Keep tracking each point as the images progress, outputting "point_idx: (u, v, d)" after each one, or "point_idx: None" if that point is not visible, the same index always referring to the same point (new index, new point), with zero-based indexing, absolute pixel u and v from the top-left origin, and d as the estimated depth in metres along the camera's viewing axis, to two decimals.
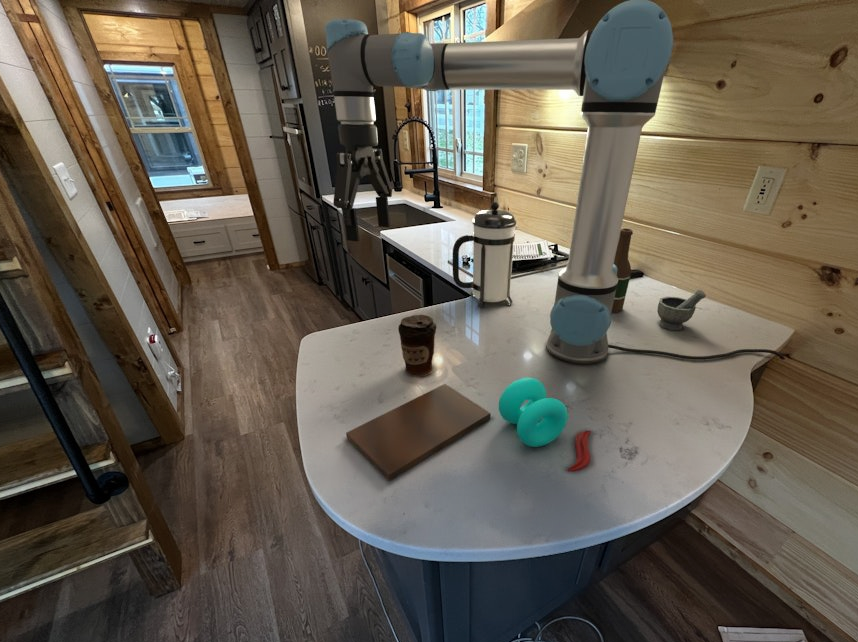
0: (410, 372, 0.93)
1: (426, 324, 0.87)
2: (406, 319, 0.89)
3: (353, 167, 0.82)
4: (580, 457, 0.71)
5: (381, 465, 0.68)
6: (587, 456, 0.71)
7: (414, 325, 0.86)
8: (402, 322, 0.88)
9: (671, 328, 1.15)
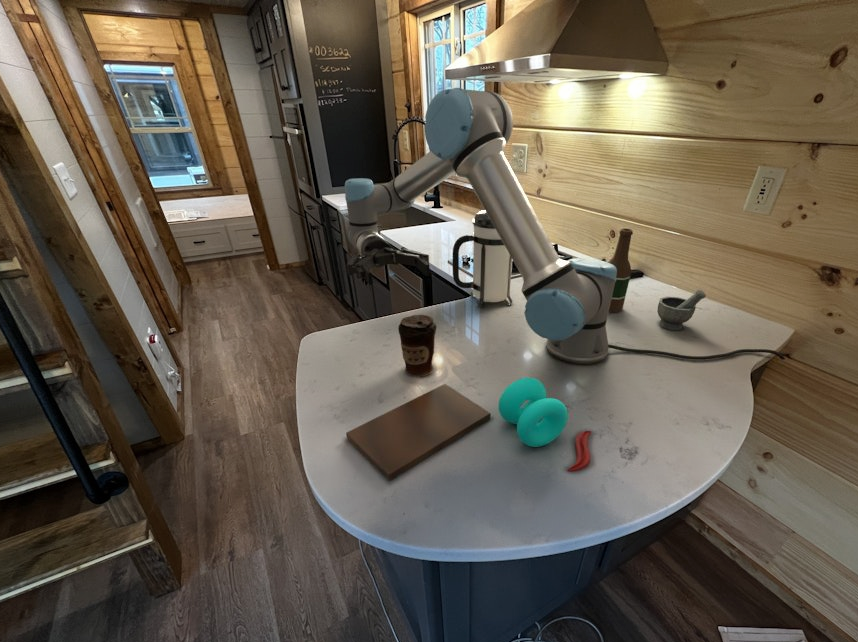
0: (410, 372, 0.93)
1: (426, 324, 0.87)
2: (406, 319, 0.89)
3: None
4: (580, 457, 0.71)
5: (381, 465, 0.68)
6: (587, 456, 0.71)
7: (414, 325, 0.86)
8: (402, 322, 0.88)
9: (671, 328, 1.15)
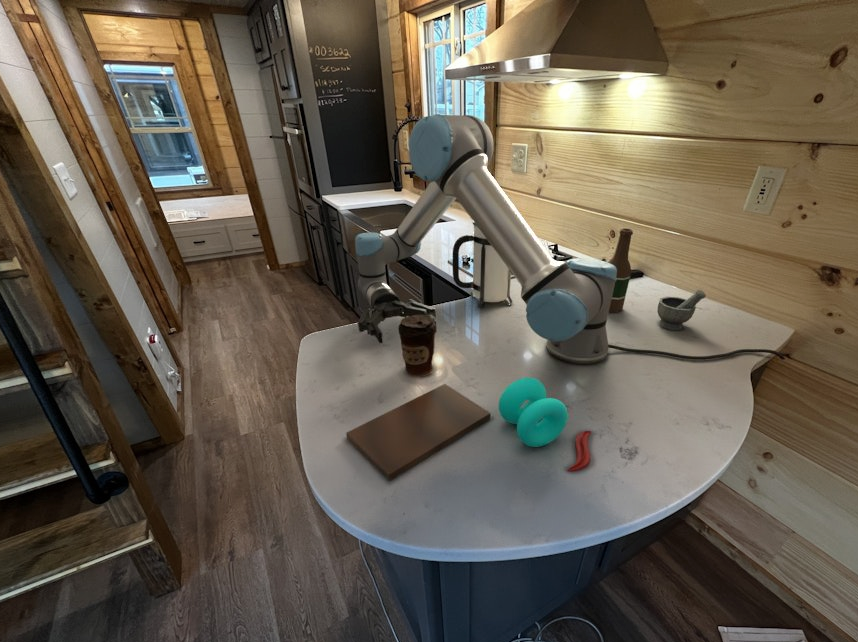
0: (410, 372, 0.93)
1: (426, 324, 0.87)
2: (406, 319, 0.89)
3: None
4: (580, 457, 0.71)
5: (381, 465, 0.68)
6: (587, 456, 0.71)
7: (414, 325, 0.86)
8: (402, 322, 0.88)
9: (671, 328, 1.15)
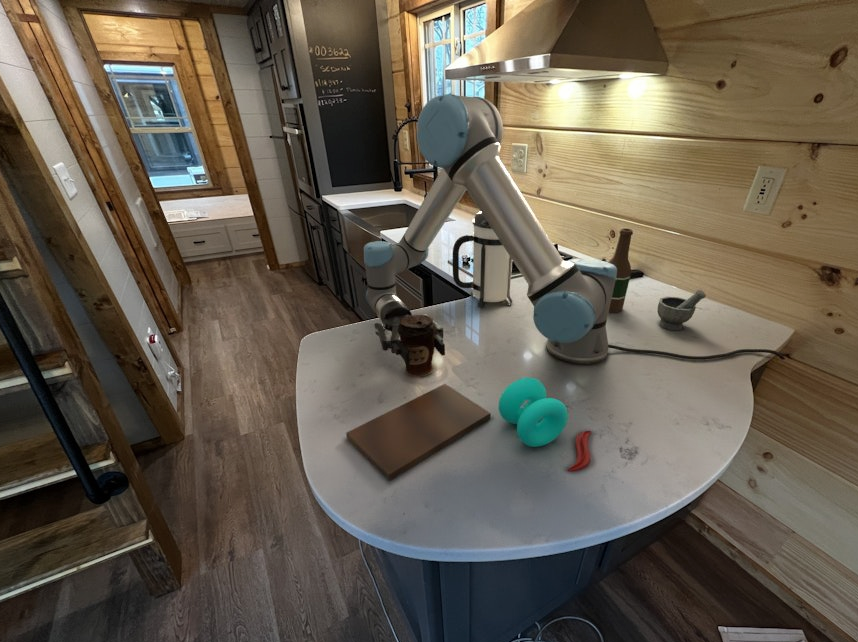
0: (410, 372, 0.93)
1: (426, 324, 0.87)
2: (406, 319, 0.89)
3: (391, 328, 0.98)
4: (580, 457, 0.71)
5: (381, 465, 0.68)
6: (587, 456, 0.71)
7: (413, 325, 0.86)
8: (402, 322, 0.88)
9: (671, 328, 1.15)
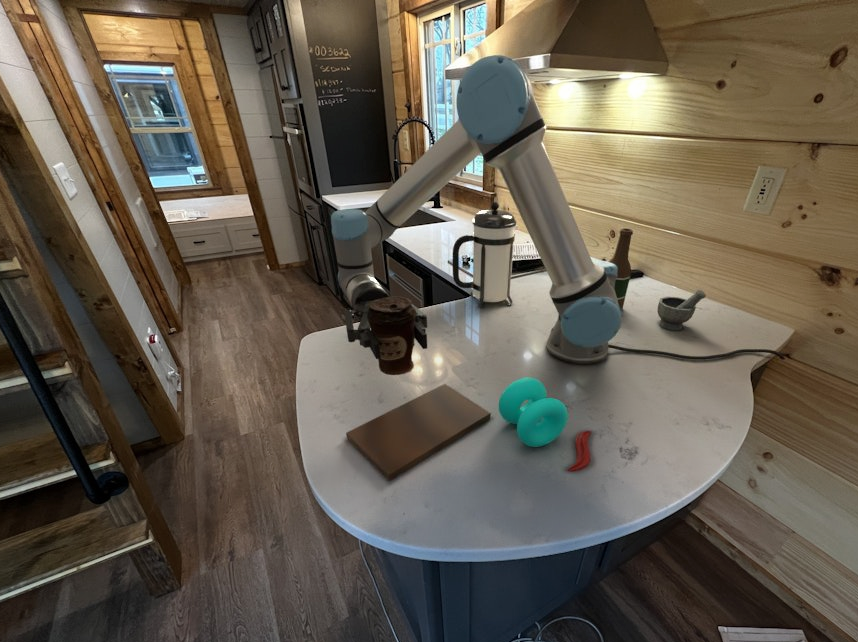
0: (384, 370, 0.73)
1: (402, 308, 0.67)
2: (377, 302, 0.69)
3: (363, 315, 0.79)
4: (580, 457, 0.71)
5: (381, 465, 0.68)
6: (587, 456, 0.71)
7: (385, 309, 0.67)
8: (371, 305, 0.68)
9: (671, 328, 1.15)
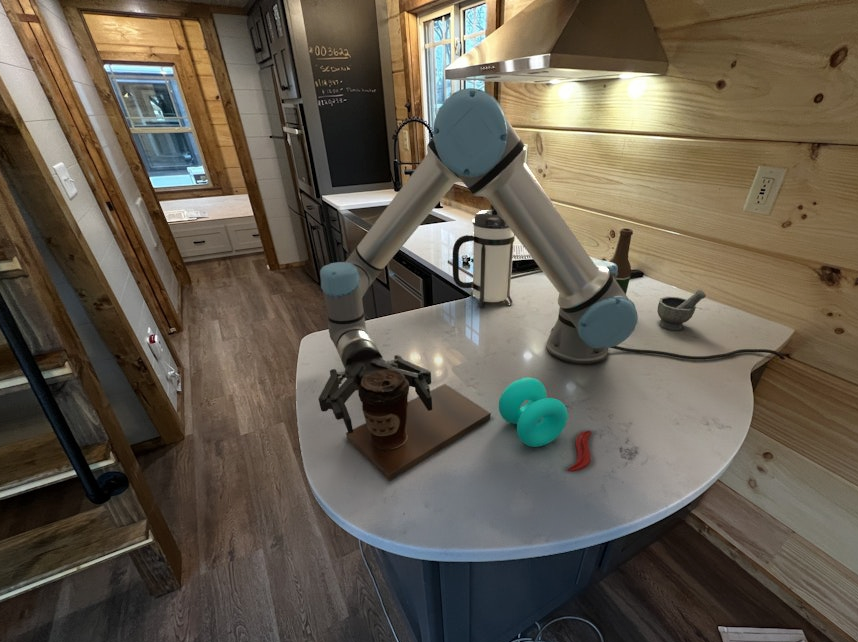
0: (376, 444, 0.71)
1: (394, 386, 0.65)
2: (369, 377, 0.67)
3: None
4: (580, 457, 0.71)
5: (381, 465, 0.68)
6: (587, 456, 0.71)
7: (377, 388, 0.64)
8: (362, 383, 0.65)
9: (671, 328, 1.15)
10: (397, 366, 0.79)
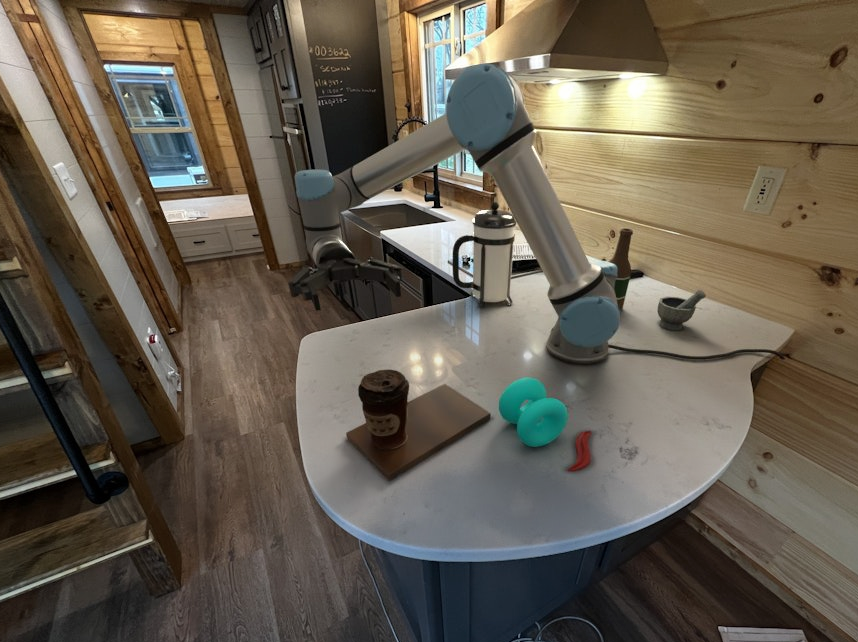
0: (376, 444, 0.71)
1: (394, 386, 0.65)
2: (369, 377, 0.67)
3: None
4: (580, 457, 0.71)
5: (381, 465, 0.68)
6: (587, 456, 0.71)
7: (377, 388, 0.64)
8: (362, 383, 0.65)
9: (671, 328, 1.15)
10: None
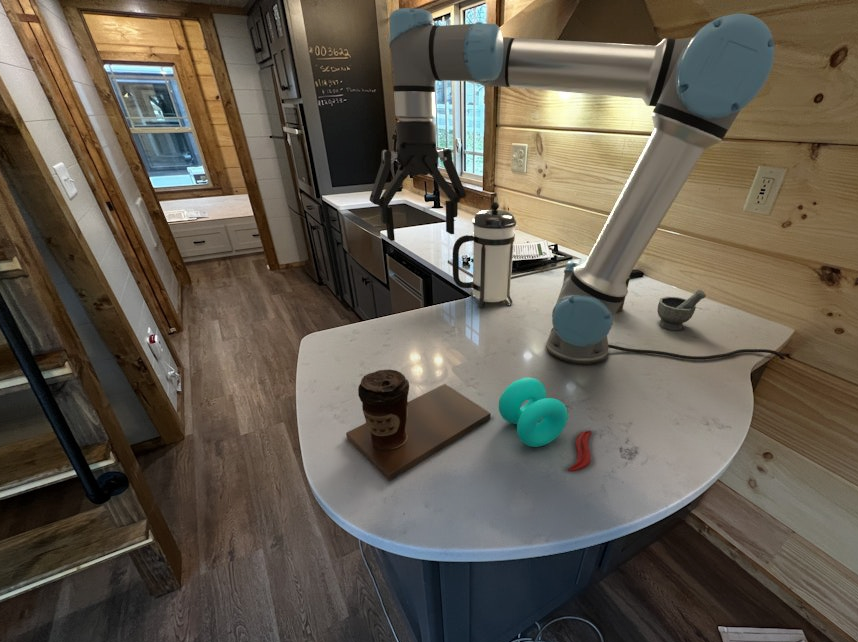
0: (376, 444, 0.71)
1: (394, 386, 0.65)
2: (369, 377, 0.67)
3: (403, 165, 0.79)
4: (580, 457, 0.71)
5: (381, 465, 0.68)
6: (587, 456, 0.71)
7: (377, 388, 0.64)
8: (362, 383, 0.65)
9: (671, 328, 1.15)
10: None
